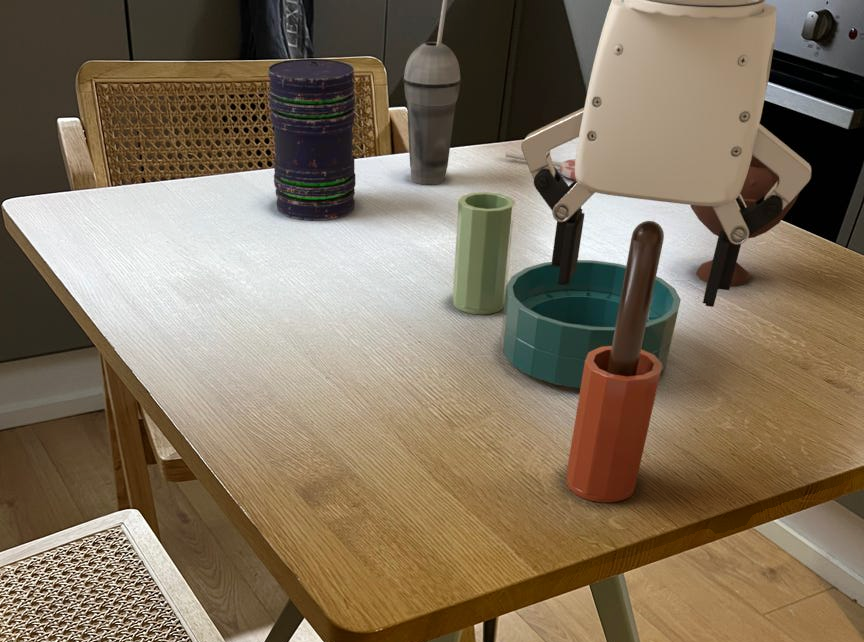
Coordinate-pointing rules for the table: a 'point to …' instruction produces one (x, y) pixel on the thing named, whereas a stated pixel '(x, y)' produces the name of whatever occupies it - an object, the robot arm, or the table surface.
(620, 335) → the stirring stick
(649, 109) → the robot arm
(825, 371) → the table surface
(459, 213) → the rinse cup
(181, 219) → the table surface
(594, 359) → the utensil cup
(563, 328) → the mixing bowl
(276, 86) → the storage jar
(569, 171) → the lollipop
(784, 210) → the ice cream bowl
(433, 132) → the beverage cup
